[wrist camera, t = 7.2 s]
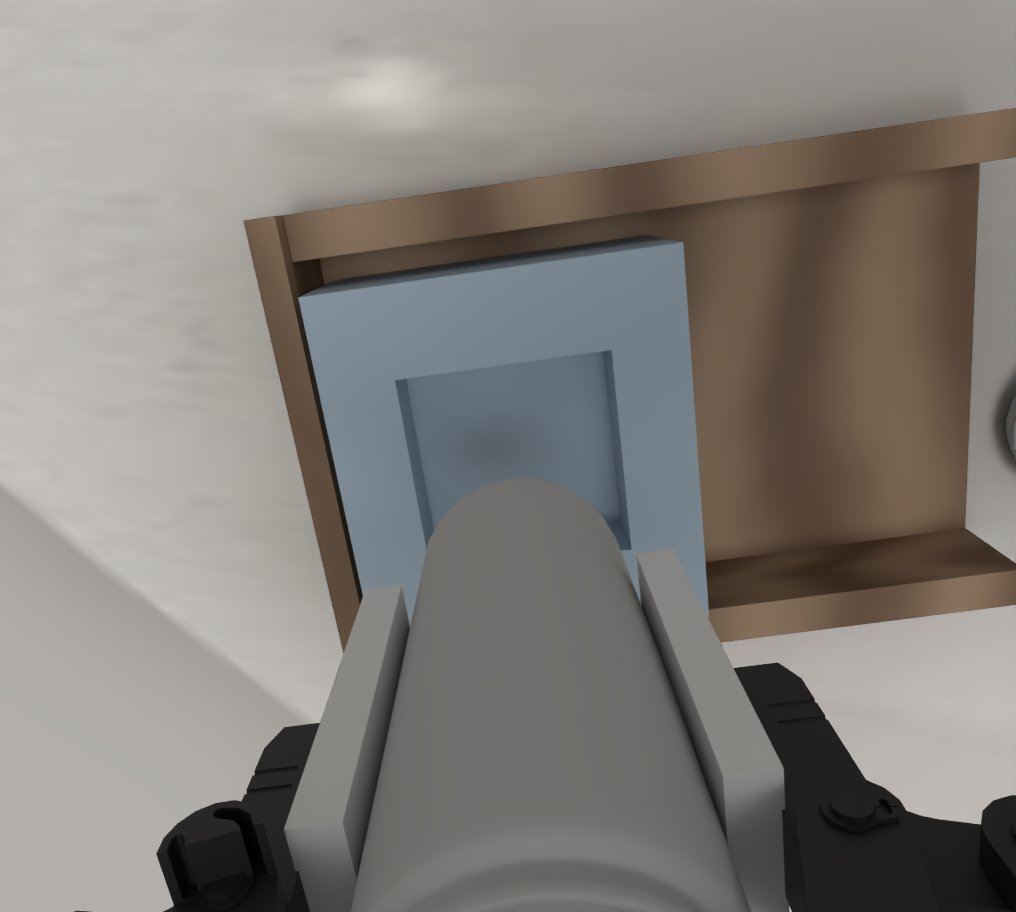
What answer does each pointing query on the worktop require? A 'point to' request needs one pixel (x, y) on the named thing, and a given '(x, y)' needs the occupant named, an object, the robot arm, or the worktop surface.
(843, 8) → the worktop surface
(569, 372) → the blue recessed block
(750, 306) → the bay
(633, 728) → the beverage can
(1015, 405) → the ceramic mug
